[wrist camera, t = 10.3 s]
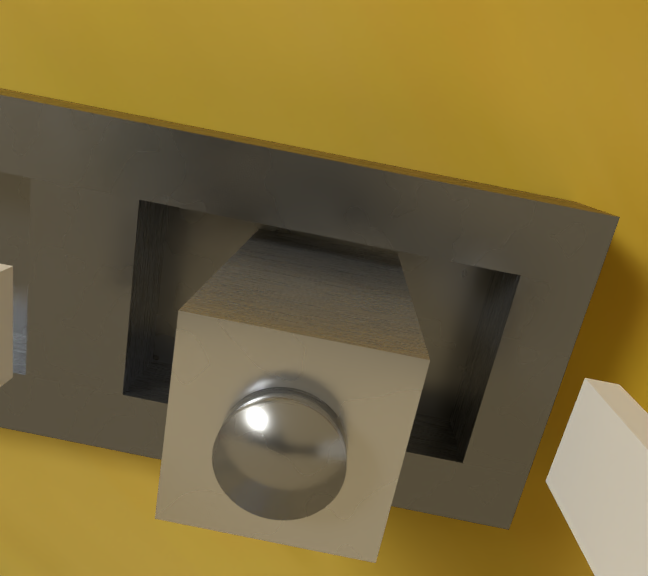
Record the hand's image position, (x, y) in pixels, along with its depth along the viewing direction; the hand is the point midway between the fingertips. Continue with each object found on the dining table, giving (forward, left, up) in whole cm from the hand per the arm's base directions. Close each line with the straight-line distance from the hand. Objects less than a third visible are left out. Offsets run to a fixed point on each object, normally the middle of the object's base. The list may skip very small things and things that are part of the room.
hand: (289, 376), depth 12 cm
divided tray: (0, -7, -6) cm, 9 cm away
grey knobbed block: (0, 0, -6) cm, 6 cm away
